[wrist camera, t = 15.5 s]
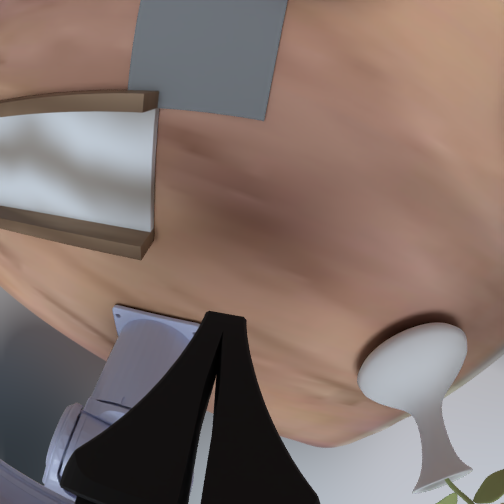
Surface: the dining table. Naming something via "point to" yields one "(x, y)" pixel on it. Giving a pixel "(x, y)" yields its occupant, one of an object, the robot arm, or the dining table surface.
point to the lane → (81, 168)
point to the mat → (208, 54)
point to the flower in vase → (426, 400)
